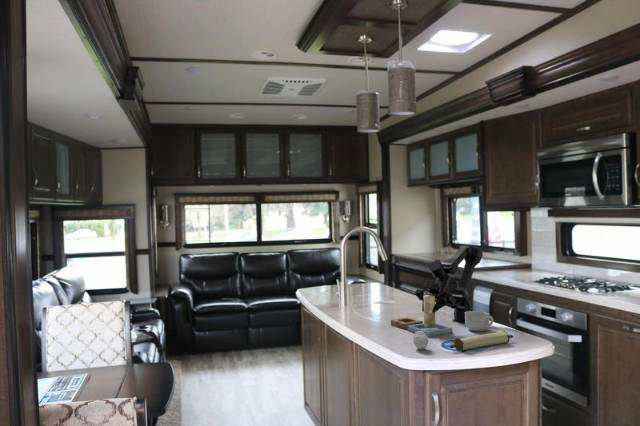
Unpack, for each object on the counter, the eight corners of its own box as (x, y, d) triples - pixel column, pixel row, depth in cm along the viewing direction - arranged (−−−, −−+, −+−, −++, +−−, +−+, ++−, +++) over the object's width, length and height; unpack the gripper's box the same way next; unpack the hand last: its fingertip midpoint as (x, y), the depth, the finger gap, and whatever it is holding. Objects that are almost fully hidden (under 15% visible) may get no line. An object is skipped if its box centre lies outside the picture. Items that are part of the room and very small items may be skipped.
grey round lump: (425, 346, 199) (424, 329, 199) (431, 351, 192) (431, 333, 192) (410, 347, 198) (410, 330, 198) (416, 352, 191) (416, 334, 191)
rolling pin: (507, 340, 206) (507, 328, 206) (518, 343, 201) (517, 331, 201) (445, 351, 192) (445, 338, 192) (455, 354, 187) (455, 341, 187)
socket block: (422, 326, 233) (422, 321, 233) (405, 329, 227) (405, 324, 227) (408, 322, 242) (407, 317, 242) (390, 325, 237) (390, 319, 237)
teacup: (460, 328, 227) (459, 311, 227) (479, 326, 231) (478, 309, 231) (480, 335, 214) (479, 317, 214) (500, 332, 218) (499, 314, 218)
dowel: (436, 326, 223) (436, 295, 223) (433, 328, 219) (432, 297, 219) (426, 325, 226) (425, 294, 226) (422, 327, 221) (422, 296, 221)
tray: (452, 332, 220) (452, 327, 220) (428, 337, 213) (428, 332, 213) (430, 326, 232) (430, 322, 232) (407, 330, 225) (407, 326, 225)
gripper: (416, 271, 232) (403, 298, 224) (451, 275, 218) (438, 303, 210) (426, 286, 237) (413, 313, 229) (461, 290, 224) (448, 318, 216)
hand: (427, 311), depth 221 cm, fingers closed on dowel, 5 cm apart
